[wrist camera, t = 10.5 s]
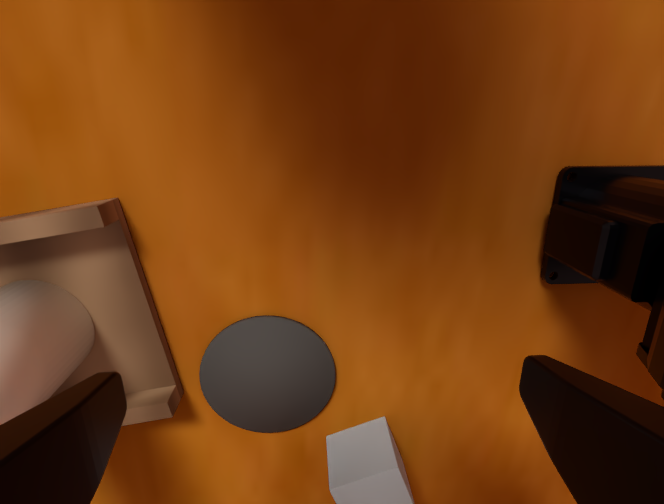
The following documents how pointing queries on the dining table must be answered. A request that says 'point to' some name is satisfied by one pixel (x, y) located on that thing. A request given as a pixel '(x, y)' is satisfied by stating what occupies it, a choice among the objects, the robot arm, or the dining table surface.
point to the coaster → (267, 374)
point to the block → (367, 466)
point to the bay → (99, 297)
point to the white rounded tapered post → (38, 343)
